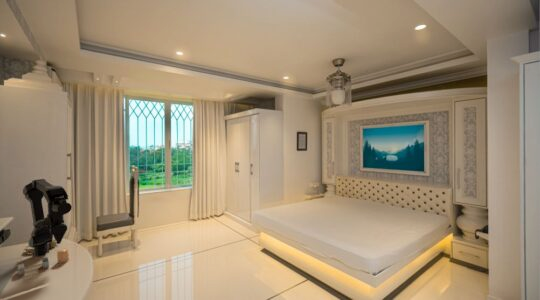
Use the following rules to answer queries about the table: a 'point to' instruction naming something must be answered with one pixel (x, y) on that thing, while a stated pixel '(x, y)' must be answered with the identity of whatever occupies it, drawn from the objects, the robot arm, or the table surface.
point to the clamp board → (33, 270)
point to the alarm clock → (50, 245)
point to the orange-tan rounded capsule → (62, 256)
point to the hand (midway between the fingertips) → (57, 241)
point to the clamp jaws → (44, 263)
